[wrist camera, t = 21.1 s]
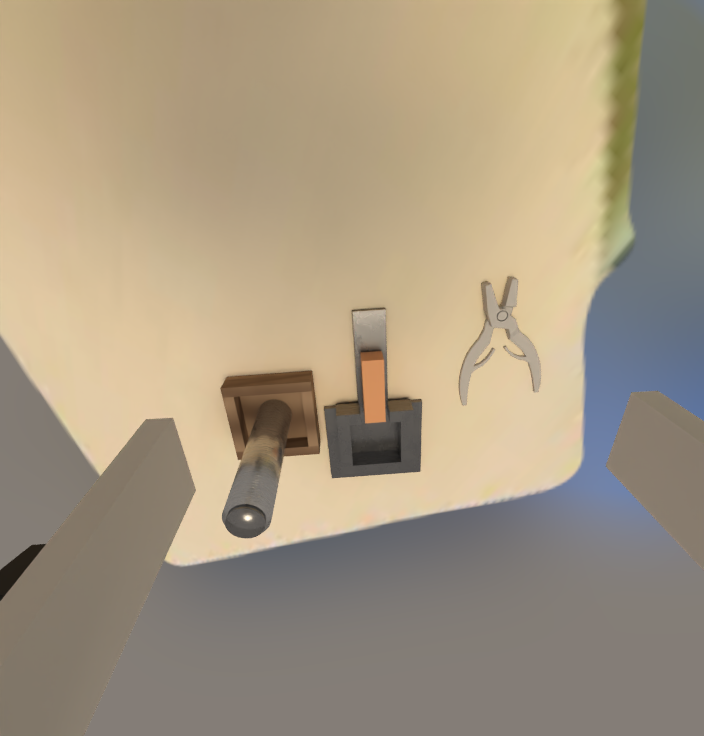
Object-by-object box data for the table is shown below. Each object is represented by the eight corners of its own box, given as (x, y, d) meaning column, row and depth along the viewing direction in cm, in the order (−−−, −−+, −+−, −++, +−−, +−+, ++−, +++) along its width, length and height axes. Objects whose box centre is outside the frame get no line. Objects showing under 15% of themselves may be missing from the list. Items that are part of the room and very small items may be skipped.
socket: (314, 312, 41) (312, 322, 38) (422, 305, 41) (429, 313, 38) (331, 475, 51) (331, 491, 48) (419, 468, 51) (424, 484, 48)
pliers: (463, 409, 45) (455, 290, 39) (459, 403, 47) (450, 287, 40) (544, 394, 45) (549, 272, 38) (537, 388, 46) (541, 269, 40)
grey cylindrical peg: (255, 400, 44) (215, 508, 29) (289, 398, 44) (265, 504, 29) (261, 428, 46) (225, 543, 31) (293, 426, 46) (273, 539, 31)
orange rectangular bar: (360, 352, 42) (361, 361, 40) (381, 350, 42) (384, 359, 40) (363, 412, 45) (365, 423, 43) (383, 410, 45) (385, 421, 43)
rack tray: (227, 377, 43) (220, 388, 41) (312, 370, 44) (310, 381, 41) (243, 445, 48) (238, 459, 45) (320, 439, 48) (319, 453, 45)
